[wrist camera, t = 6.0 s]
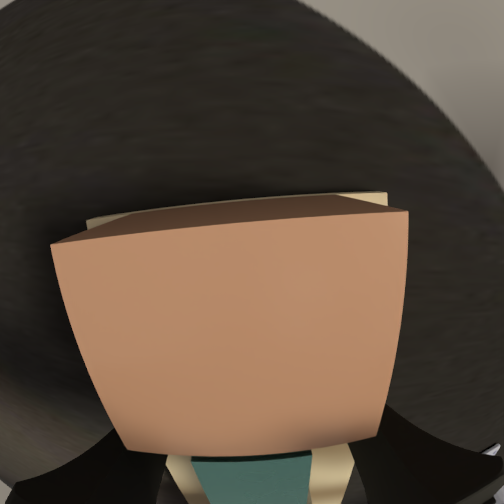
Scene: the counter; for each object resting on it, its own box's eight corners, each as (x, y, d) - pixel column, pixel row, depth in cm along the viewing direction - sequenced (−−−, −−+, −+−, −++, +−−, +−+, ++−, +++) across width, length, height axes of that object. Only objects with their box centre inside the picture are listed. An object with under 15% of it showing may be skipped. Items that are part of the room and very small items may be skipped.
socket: (335, 349, 10) (375, 435, 6) (162, 362, 10) (127, 449, 6) (336, 194, 9) (408, 211, 4) (131, 213, 9) (50, 244, 4)
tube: (292, 500, 13) (299, 550, 9) (239, 504, 13) (239, 554, 9) (290, 266, 9) (319, 328, 5) (186, 275, 9) (148, 340, 5)
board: (334, 506, 15) (336, 514, 14) (202, 516, 15) (201, 523, 14) (377, 191, 9) (387, 192, 9) (96, 217, 10) (86, 220, 9)
